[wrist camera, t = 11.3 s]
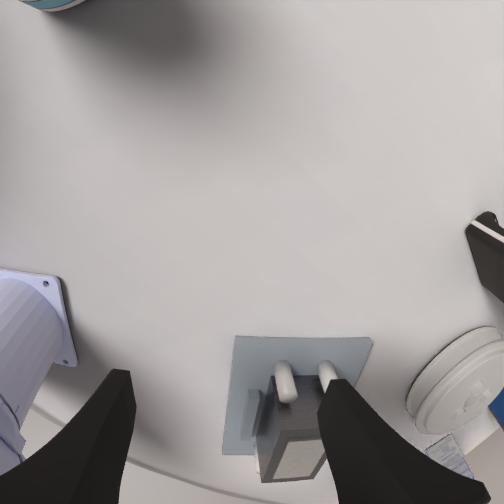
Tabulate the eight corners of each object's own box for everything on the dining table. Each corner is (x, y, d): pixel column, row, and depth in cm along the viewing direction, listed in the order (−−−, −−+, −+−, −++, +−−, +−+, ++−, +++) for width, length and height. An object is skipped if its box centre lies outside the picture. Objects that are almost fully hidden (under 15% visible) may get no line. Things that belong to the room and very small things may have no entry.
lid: (477, 299, 22) (509, 331, 18) (506, 346, 26) (529, 372, 22) (380, 396, 26) (399, 435, 21) (432, 419, 30) (448, 448, 25)
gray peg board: (222, 448, 27) (223, 480, 23) (235, 335, 21) (238, 375, 17) (318, 445, 28) (326, 474, 24) (368, 337, 22) (388, 370, 19)
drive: (255, 436, 25) (261, 485, 20) (270, 375, 22) (281, 432, 17) (302, 435, 25) (313, 480, 21) (327, 374, 22) (347, 427, 17)
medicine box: (425, 448, 33) (446, 493, 25) (451, 432, 32) (475, 475, 24) (432, 460, 36) (450, 499, 28) (455, 446, 35) (475, 483, 27)
